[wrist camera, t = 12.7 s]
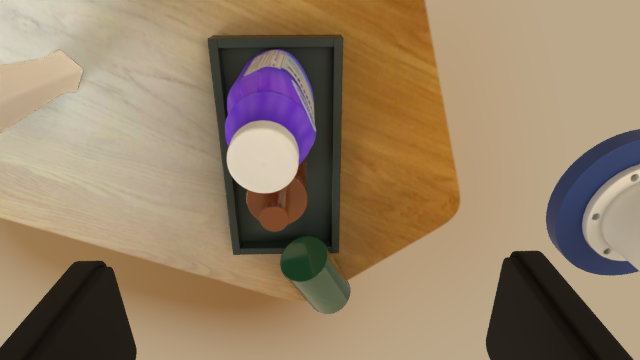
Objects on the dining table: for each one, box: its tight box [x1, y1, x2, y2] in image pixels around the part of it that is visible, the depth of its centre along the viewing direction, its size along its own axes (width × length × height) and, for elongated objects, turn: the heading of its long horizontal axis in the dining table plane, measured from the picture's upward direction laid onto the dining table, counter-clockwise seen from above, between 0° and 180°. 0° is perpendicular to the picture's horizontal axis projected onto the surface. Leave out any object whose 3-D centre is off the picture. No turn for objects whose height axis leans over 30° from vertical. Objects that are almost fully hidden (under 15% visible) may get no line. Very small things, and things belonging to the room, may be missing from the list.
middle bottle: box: [246, 156, 307, 232], centre depth 36 cm, size 5×5×12 cm
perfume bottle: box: [0, 50, 83, 133], centre depth 31 cm, size 5×4×15 cm
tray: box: [208, 35, 343, 255], centre depth 41 cm, size 12×23×2 cm, turn 0°
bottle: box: [225, 49, 316, 193], centre depth 30 cm, size 7×6×17 cm
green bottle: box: [280, 236, 350, 314], centre depth 45 cm, size 5×5×12 cm
